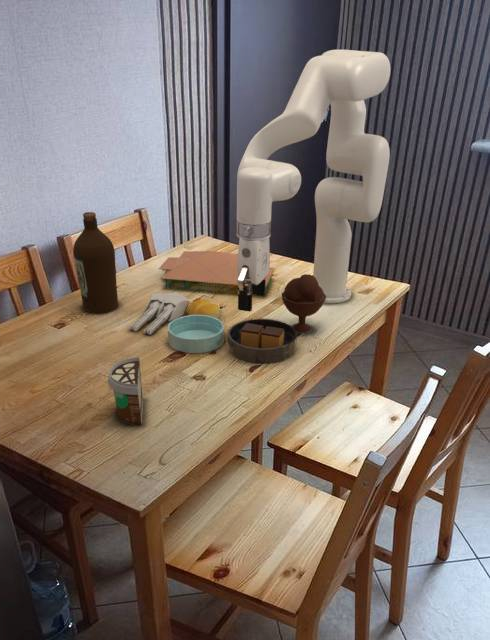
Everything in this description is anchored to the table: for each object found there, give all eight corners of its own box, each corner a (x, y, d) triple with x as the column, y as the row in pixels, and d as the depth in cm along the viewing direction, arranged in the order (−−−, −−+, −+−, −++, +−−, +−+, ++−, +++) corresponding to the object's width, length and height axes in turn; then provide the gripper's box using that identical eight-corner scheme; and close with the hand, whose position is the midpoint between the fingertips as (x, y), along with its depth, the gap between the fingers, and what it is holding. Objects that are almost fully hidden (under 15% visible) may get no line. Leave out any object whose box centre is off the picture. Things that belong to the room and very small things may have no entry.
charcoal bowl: (241, 330, 171) (241, 314, 169) (304, 339, 167) (305, 324, 164) (218, 358, 159) (217, 342, 156) (285, 370, 154) (286, 354, 152)
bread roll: (203, 325, 173) (203, 311, 171) (182, 314, 179) (182, 300, 176) (228, 317, 178) (227, 303, 175) (207, 306, 183) (206, 292, 181)
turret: (124, 336, 173) (121, 321, 169) (165, 298, 185) (162, 283, 182) (157, 345, 169) (154, 329, 166) (196, 305, 181) (194, 289, 178)
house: (176, 261, 212) (174, 235, 207) (279, 269, 206) (280, 243, 201) (153, 288, 193) (151, 260, 189) (265, 298, 188) (266, 270, 183)
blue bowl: (182, 326, 173) (181, 311, 170) (232, 334, 169) (232, 319, 167) (159, 349, 162) (158, 334, 160) (212, 359, 158) (211, 343, 156)
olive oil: (115, 296, 189) (104, 205, 174) (124, 310, 181) (115, 217, 166) (77, 302, 185) (63, 210, 171) (85, 317, 177) (72, 222, 163)
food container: (114, 398, 144) (109, 356, 138) (143, 397, 144) (139, 355, 138) (110, 430, 134) (104, 387, 128) (141, 428, 134) (136, 385, 129)
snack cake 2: (266, 344, 164) (266, 326, 161) (283, 346, 163) (284, 328, 160) (261, 351, 161) (261, 332, 158) (278, 354, 160) (279, 335, 157)
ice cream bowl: (328, 325, 174) (333, 269, 165) (313, 342, 165) (318, 284, 157) (290, 317, 177) (292, 262, 168) (274, 334, 169) (276, 277, 160)
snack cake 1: (246, 340, 165) (246, 322, 162) (263, 343, 164) (263, 325, 161) (240, 347, 162) (240, 329, 159) (258, 350, 161) (258, 332, 158)
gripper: (257, 242, 139) (255, 319, 148) (281, 220, 152) (277, 291, 162) (223, 238, 141) (223, 314, 150) (250, 216, 154) (248, 287, 164)
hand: (251, 302), depth 156 cm, fingers open, 9 cm apart
